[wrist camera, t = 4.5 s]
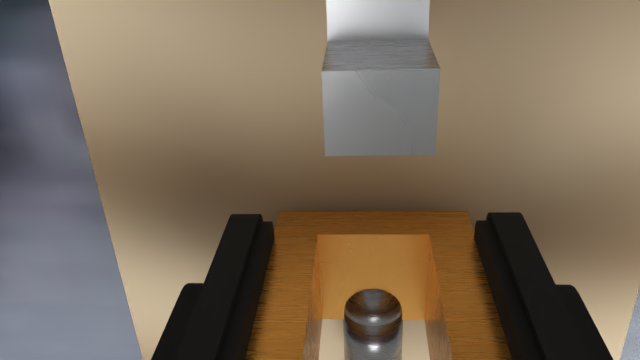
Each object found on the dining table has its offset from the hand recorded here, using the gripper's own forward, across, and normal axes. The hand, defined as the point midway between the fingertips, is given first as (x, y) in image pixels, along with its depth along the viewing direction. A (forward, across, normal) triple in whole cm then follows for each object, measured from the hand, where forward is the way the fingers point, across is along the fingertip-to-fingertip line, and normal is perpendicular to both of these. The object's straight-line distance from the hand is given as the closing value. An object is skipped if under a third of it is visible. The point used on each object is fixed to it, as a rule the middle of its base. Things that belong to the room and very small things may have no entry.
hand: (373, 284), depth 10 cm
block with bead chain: (+1, 0, +5) cm, 5 cm away
